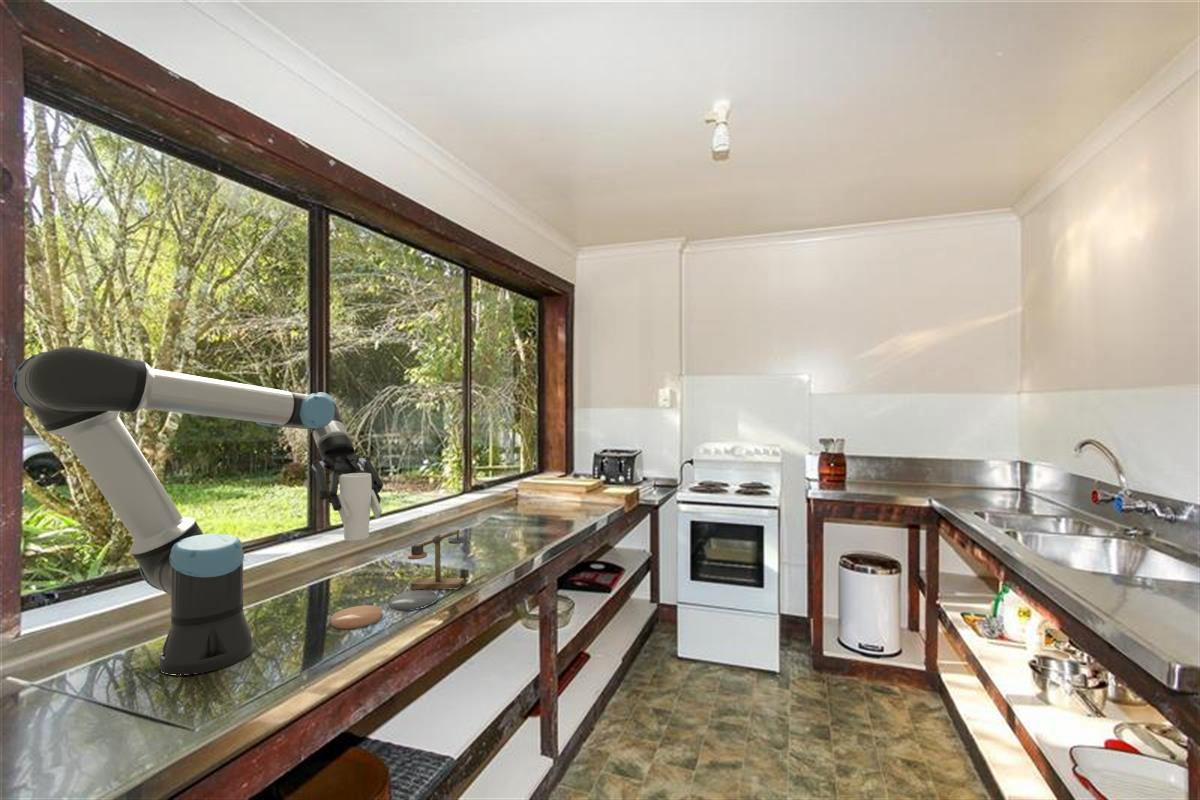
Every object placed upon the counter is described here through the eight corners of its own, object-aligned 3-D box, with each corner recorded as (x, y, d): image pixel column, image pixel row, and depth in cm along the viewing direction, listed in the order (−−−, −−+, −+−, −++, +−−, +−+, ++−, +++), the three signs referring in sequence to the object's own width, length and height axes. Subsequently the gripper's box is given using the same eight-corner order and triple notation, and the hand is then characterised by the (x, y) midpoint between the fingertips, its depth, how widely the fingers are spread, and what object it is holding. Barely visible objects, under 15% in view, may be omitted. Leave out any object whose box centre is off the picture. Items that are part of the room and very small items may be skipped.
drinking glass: (337, 538, 128) (336, 474, 128) (368, 534, 132) (367, 471, 132) (344, 544, 123) (343, 477, 123) (375, 539, 127) (375, 474, 127)
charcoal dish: (382, 610, 132) (382, 605, 132) (401, 594, 143) (401, 590, 143) (427, 610, 132) (426, 605, 132) (442, 594, 143) (442, 590, 143)
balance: (405, 589, 147) (404, 531, 148) (412, 583, 152) (411, 527, 153) (464, 589, 147) (463, 531, 147) (470, 583, 152) (469, 527, 152)
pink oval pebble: (320, 628, 122) (320, 623, 122) (346, 610, 133) (346, 605, 133) (368, 629, 121) (368, 623, 121) (390, 610, 132) (390, 605, 132)
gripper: (368, 450, 145) (398, 520, 134) (287, 456, 131) (313, 535, 120) (377, 431, 142) (408, 501, 131) (294, 435, 127) (322, 514, 116)
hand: (363, 517), depth 125 cm, fingers closed on drinking glass, 7 cm apart
